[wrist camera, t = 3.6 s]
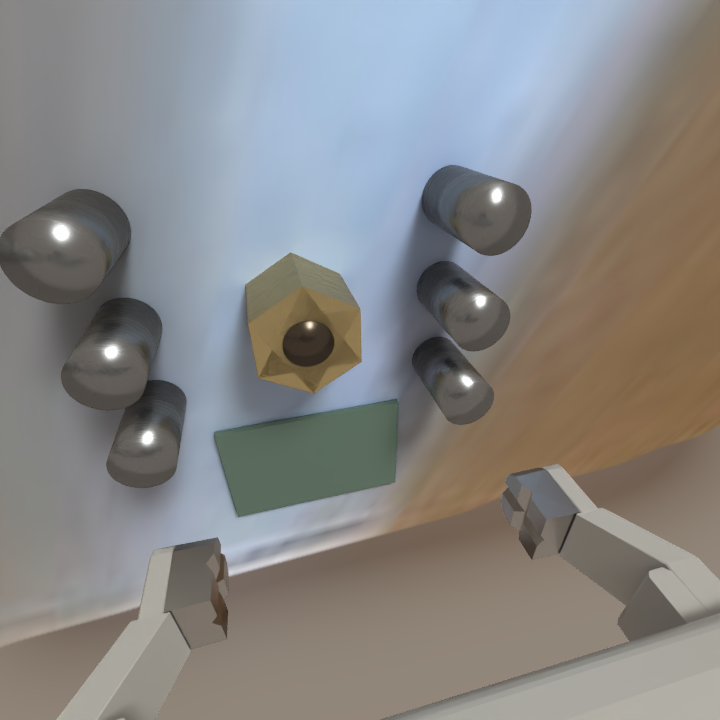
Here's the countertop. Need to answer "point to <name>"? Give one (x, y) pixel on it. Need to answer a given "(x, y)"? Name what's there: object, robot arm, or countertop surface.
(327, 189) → the countertop surface
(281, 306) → the brass nut
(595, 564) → the robot arm
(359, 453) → the rubber mat
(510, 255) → the countertop surface
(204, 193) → the countertop surface
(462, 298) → the spacer rows
